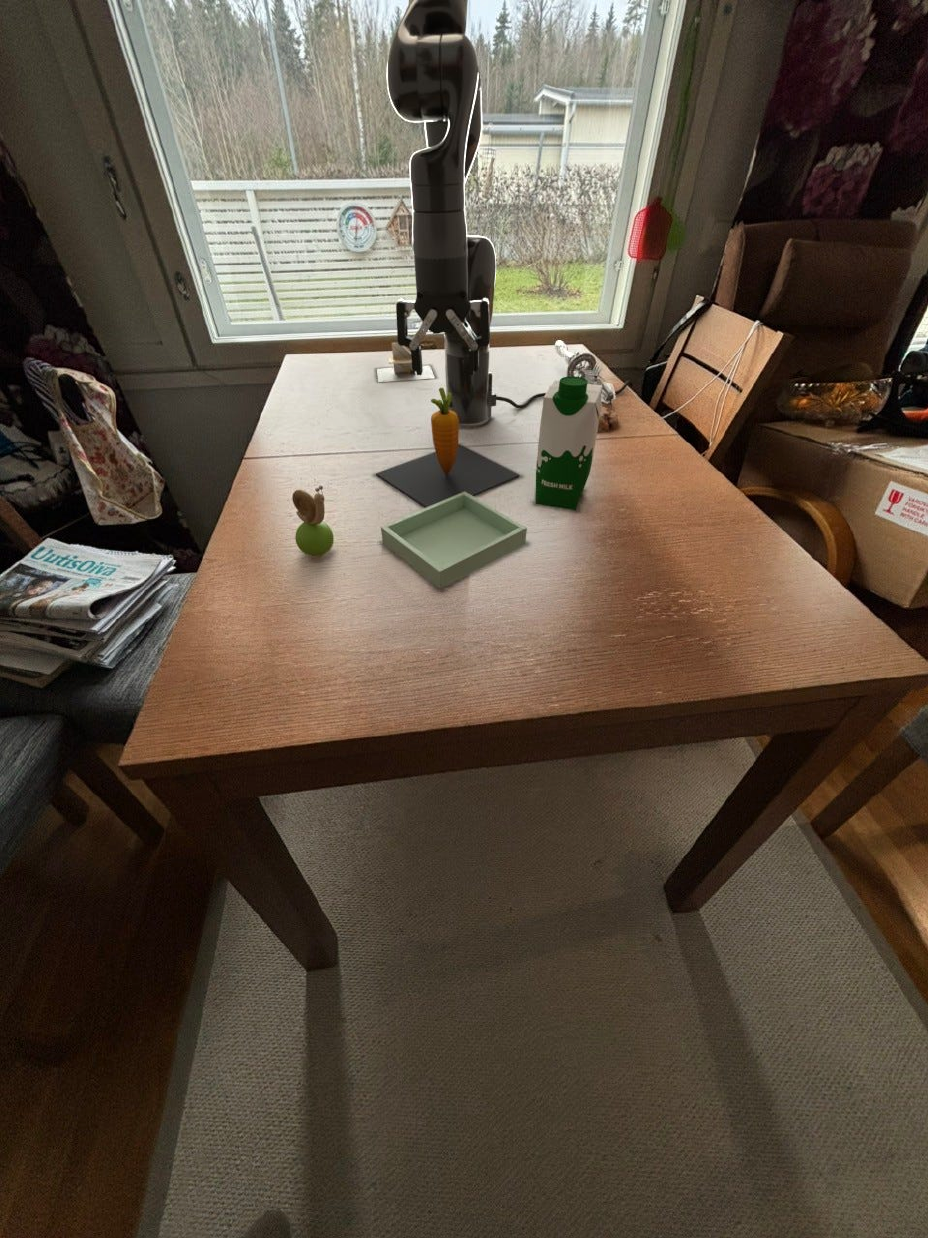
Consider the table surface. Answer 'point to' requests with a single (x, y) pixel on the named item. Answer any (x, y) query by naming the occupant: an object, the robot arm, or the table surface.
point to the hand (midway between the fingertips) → (445, 373)
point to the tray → (453, 538)
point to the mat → (446, 477)
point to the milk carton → (566, 441)
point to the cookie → (607, 420)
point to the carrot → (445, 432)
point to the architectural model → (402, 367)
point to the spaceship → (585, 370)
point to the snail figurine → (312, 523)
